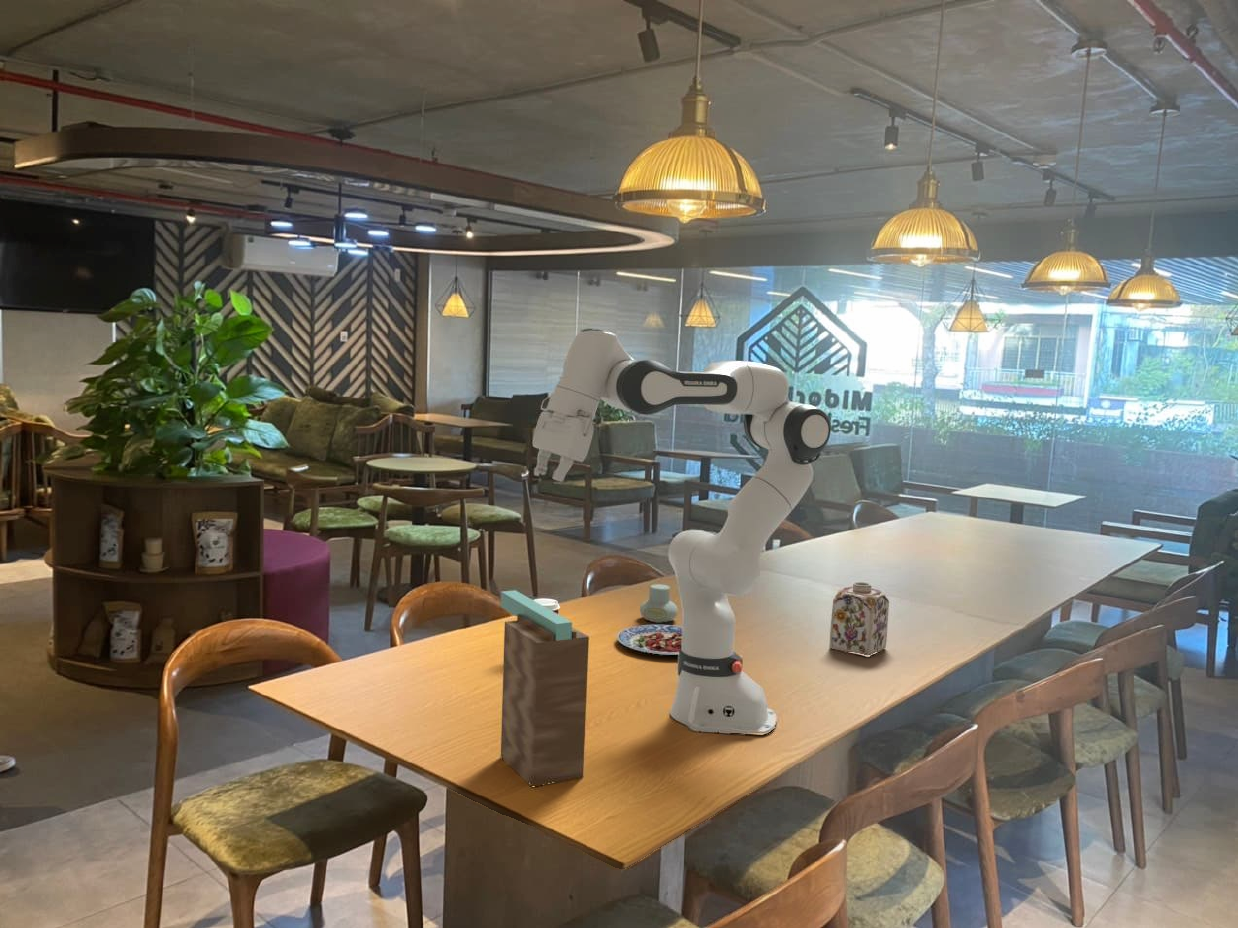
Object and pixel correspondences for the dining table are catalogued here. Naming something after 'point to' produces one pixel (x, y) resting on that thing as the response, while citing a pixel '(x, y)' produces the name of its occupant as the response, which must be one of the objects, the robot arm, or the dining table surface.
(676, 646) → the ceramic plate
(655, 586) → the air freshener
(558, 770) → the walnut stand
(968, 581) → the dining table surface
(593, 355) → the robot arm
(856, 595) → the decorative jar
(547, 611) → the teal rod
